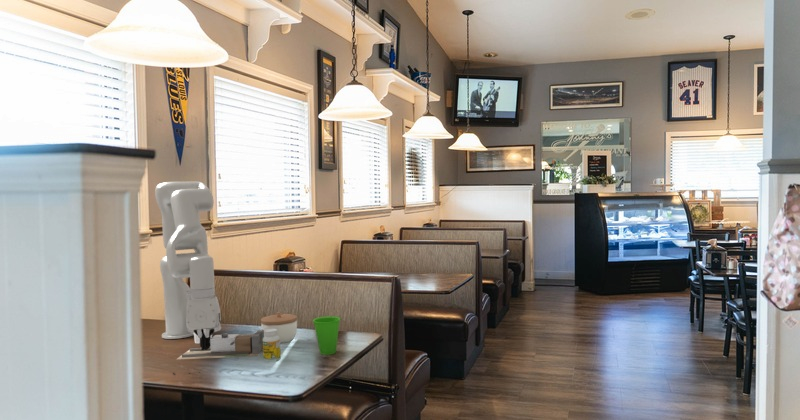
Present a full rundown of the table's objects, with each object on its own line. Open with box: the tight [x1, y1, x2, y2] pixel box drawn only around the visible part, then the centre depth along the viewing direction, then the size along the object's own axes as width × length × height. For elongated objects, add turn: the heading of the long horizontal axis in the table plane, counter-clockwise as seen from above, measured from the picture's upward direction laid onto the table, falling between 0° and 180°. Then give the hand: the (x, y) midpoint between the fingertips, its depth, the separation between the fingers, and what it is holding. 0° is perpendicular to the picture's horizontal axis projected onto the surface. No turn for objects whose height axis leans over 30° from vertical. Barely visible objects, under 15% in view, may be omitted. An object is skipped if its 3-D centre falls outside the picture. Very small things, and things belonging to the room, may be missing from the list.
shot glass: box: [193, 329, 213, 345], centre depth 200 cm, size 7×7×7 cm
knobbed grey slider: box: [210, 332, 240, 353], centre depth 183 cm, size 7×8×6 cm
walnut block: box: [235, 333, 254, 353], centre depth 184 cm, size 5×5×5 cm
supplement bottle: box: [262, 329, 282, 362], centre depth 177 cm, size 5×5×10 cm
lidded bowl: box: [260, 311, 298, 344], centre depth 198 cm, size 13×13×11 cm
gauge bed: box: [176, 329, 264, 360], centre depth 184 cm, size 12×26×7 cm, turn 90°
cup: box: [312, 315, 341, 356], centre depth 183 cm, size 9×9×11 cm
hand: (205, 348), depth 184 cm, fingers closed
